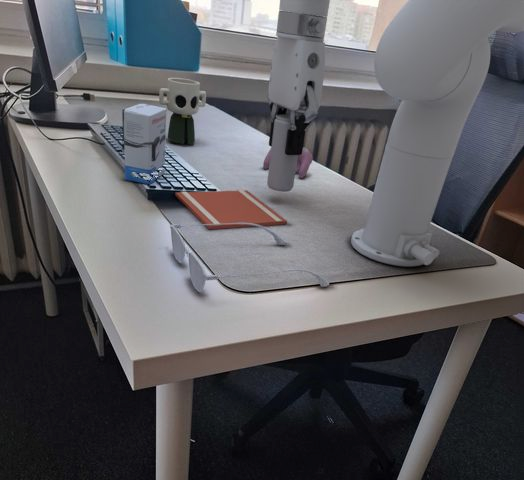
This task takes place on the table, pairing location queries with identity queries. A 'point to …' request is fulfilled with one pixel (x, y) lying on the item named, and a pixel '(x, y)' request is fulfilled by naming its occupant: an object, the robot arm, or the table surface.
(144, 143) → the ink box
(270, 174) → the beverage can
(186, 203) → the towel
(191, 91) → the character mug
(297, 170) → the video game controller
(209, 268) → the table surface
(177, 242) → the eyeglasses
